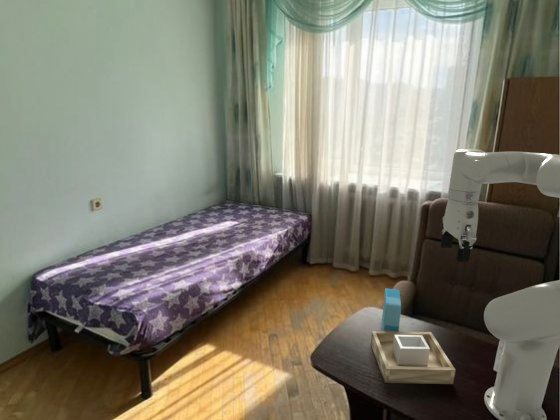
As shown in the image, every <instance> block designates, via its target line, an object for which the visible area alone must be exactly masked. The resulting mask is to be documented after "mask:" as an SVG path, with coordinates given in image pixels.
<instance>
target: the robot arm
mask: <svg viewBox="0 0 560 420" xmlns="http://www.w3.org/2000/svg"><path fill="white" fill-rule="evenodd" d="M450 172H451V173H450V179H449V185H448V191H447V198H446V199H447V203H446V207H445V211H444V216H442V225H441V226H442V230H441V240H440V241H441V242H440V248H443V249H445V248H446V249H447V248H448V249H451V248H453V244H454V238H455V239H457V240H458V245H459V247H457V252H456V258H455V261H456V262H458V263H467V262H468V263H469V261H470V255H471V250H472V249H473V247H474V246H475V243H476V241H477V231H478V224H479V204H478V203H479V201H480V194H481V189H482V185H489V184H500V183H503V184H504V183H520V184H521V183H522V184H527V185H534V186H536V187H537V189H538V190H539V191H540V193H541V194H543V195H544V196H547V197H552V198H553V197H554V198H557V199H560V154H555V153H554V154H552V153H541V152H528V151H495V152H494V151H493V152H492V151H491V152H485V151H484V150H483V149H477V148H458V149H456V150H455V152H454V154H453V158H452V166H451V171H450ZM464 241H465V242H464ZM483 321H484V324H485V326H486V328H487V330H488V331H489V333H490V334H492V335H493V336H494V337H495V338H497V339H498V340H499V341H500V340H502V341H504V347H503V350H502V355H501V359H500V364H499V368H498V372H496V377H495V378H496V379H495V382H494V386H491V387H490V388H488V389H487V390H486V391H485V393H484V396H483V399H484V400H483V401H484V404H485V406H486V408H487V409H488V411H489V412H490V413H491V415H493V416H494V418H496V419H498V420H547V414H546V413H545V410H544V409H543V407H542V405H543V403H544V402H543V401H544V398H545V395H546V391H547V387H548V384H549V382H550V381H549V380H550V376H551V372H552V369H553V367H554V363H555V360H556V356H557V354H558V350H559V349H560V279H558V280H553V281H548V282H543V283H539V284H535V285H532V286H529V287H526V288H523V289H520V290H517V291H513V292H511V293H507V294H504V295H502V296H498V297H496V298H493V299H492V300H490V301H489V302H488V303H487V304H486V306H485V309H484V312H483Z"/></svg>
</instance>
